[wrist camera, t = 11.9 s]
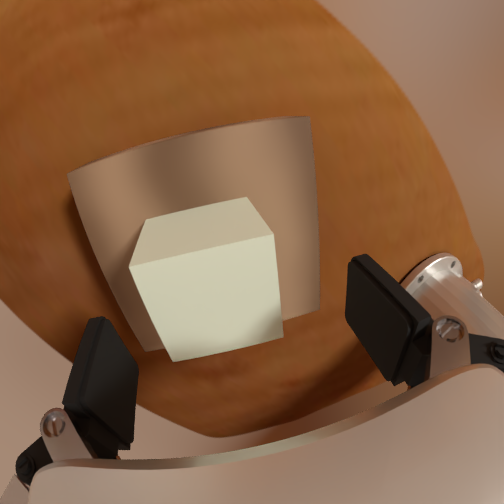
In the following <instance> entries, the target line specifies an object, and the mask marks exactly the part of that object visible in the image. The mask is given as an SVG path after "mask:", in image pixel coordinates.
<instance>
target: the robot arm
mask: <svg viewBox="0 0 504 504" xmlns="http://www.w3.org/2000/svg"><path fill="white" fill-rule="evenodd" d="M481 288H482V281H481V280H480V279H476V280H474V281H472V282H471V283H470V282H469V281H468V280H466V279H465V278H464V277H463V276H462V266H461V263H460V261H459V260H458V259H457V258H456V257H454V256H453V255H451V254H449V253H439V254H436V255H434V256H431V257H430V258H428V259H426V260H425V261H423V262H422V263H421V264H420V265H418V266H417V267H416V268H415V269H414V270H413V271H412V272H411V273H410V274H409V275H408V276H407V277H406V278H405V280H404V281H403V282H402V283H401V284H399V283H398V282H397V281H396V280H395V279H394V278H393V277H392V276H391V275H389V274H388V273H387V272H386V271H385V270H384V269H383V268H382V267H381V266H380V265H379V264H378V263H376V262H375V261H374V260H373V259H372V258H371V257H370V256H369V255H367V254H363V255H359V256H355V257H353V258H352V259H351V262H349V263H348V275H347V293H346V307H345V318H346V321H347V323H348V324H349V326H350V327H351V328H352V330H353V331H354V333H355V334H356V336H357V337H358V339H359V340H360V342H361V343H362V345H363V346H364V348H365V349H366V351H367V352H368V354H369V355H370V357H371V358H372V360H373V361H374V363H375V364H376V366H377V367H378V369H379V370H380V372H381V373H382V375H383V376H384V378H385V379H386V380H387V381H391V382H392V384H393V385H394V386H396V385H397V384H400V383H402V382H403V381H405V382H406V384H407V385H408V389H407V391H406V392H404V393H402V394H400V395H398V396H396V397H394V398H392V399H390V400H388V401H386V402H384V403H382V404H379V405H377V406H375V407H373V408H371V409H368V410H366V411H364V412H362V413H359V414H357V415H354V416H352V417H350V418H347V419H344V420H342V421H339V422H337V423H334V424H331V425H328V426H326V427H323V428H320V429H317V430H314V431H311V432H308V433H305V434H301V435H298V436H295V437H291V438H288V439H284V440H280V441H277V442H273V443H269V444H264V445H260V446H256V447H251V448H247V449H241V450H236V451H230V452H224V453H218V454H211V455H203V456H195V457H184V458H173V459H172V458H171V459H147V460H121V459H120V457H119V456H118V450H130V443H132V442H133V440H134V422H135V406H136V395H137V384H138V375H139V369H138V365H137V363H136V362H135V360H134V359H133V357H132V356H131V354H130V353H129V351H128V350H127V348H126V346H125V345H124V343H123V342H122V340H121V339H120V337H119V335H118V334H117V332H116V330H115V329H114V327H113V325H112V323H111V322H110V320H108V319H105V317H103V316H101V317H96V318H91V319H89V321H88V323H87V326H86V329H85V331H84V334H83V337H82V340H81V342H80V345H79V348H78V351H77V354H76V357H75V360H74V363H73V366H72V369H71V373H70V376H69V380H68V383H67V386H66V390H65V394H64V398H63V401H62V404H63V405H64V409H61V408H53V409H51V410H49V411H48V412H46V413H45V414H44V417H43V418H42V420H41V423H40V432H41V435H42V436H41V437H40V438H39V439H37V440H36V441H35V442H34V443H33V444H32V445H31V446H30V447H28V448H27V449H26V450H25V451H24V452H23V453H21V454H20V456H19V457H18V459H17V461H16V473H17V476H16V475H15V474H14V476H13V477H12V479H11V481H10V482H9V484H8V486H7V488H6V489H5V491H4V493H3V495H2V497H1V499H0V504H504V317H503V315H502V314H501V313H499V312H498V311H497V310H496V309H495V308H494V307H493V306H492V305H491V304H489V302H487V301H486V300H485V299H484V298H483V297H482V293H481V292H480V291H479V289H481Z"/></svg>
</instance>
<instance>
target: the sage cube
mask: <svg viewBox="0 0 504 504" xmlns="http://www.w3.org/2000/svg"><path fill="white" fill-rule="evenodd" d="M129 269H130V272H131V274H132V277H133V279H134V281H135V284H136V286H137V289H138V291H139V293H140V296H141V298H142V300H143V302H144V305H145V307H146V309H147V311H148V313H149V315H150V318H151V320H152V322H153V324H154V326H155V328H156V330H157V332H158V334H159V336H160V338H161V340H162V342H163V344H164V346H165V348H166V350H167V352H168V354H169V356H170V357H171V359H172V361H173V362H176V361H181V360H187V359H192V358H197V357H202V356H207V355H212V354H217V353H221V352H226V351H230V350H235V349H239V348H243V347H247V346H251V345H255V344H259V343H263V342H267V341H271V340H274V339H278V338H282V337H283V325H282V314H281V303H280V292H279V281H278V271H277V261H276V251H275V241H274V234H273V232H272V231H271V230H270V228H269V227H268V225H267V224H266V223H265V221H264V220H263V218H262V217H261V216H260V214H259V213H258V212H257V210H256V209H255V207H254V206H253V205H252V203H251V202H250V201H249V199H248V198H247V197H243V198H238V199H233V200H229V201H224V202H219V203H214V204H210V205H205V206H201V207H196V208H192V209H187V210H183V211H179V212H175V213H170V214H166V215H162V216H158V217H154V218H150V219H146V220H145V223H144V226H143V228H142V231H141V233H140V236H139V239H138V242H137V244H136V247H135V250H134V253H133V256H132V259H131V262H130V264H129Z"/></svg>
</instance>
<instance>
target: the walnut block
mask: <svg viewBox="0 0 504 504" xmlns="http://www.w3.org/2000/svg"><path fill="white" fill-rule="evenodd" d="M67 177H68V180H69V184H70V187H71V190H72V194H73V197H74V200H75V203H76V206H77V209H78V212H79V215H80V217H81V220H82V223H83V226H84V228H85V231H86V234H87V236H88V239H89V241H90V244H91V246H92V249H93V251H94V253H95V256H96V258H97V260H98V263H99V265H100V267H101V270H102V272H103V274H104V276H105V278H106V280H107V283H108V285H109V287H110V289H111V291H112V293H113V295H114V297H115V299H116V301H117V303H118V305H119V307H120V309H121V310H122V312H123V314H124V316H125V318H126V320H127V322H128V323H129V325H130V327H131V329H132V331H133V332H134V334H135V336H136V338H137V339H138V341H139V343H140V344H141V346H142V348H143V349H144V351H145V352H147V351H153V350H158V349H164V348H165V346H164V344H163V342H162V340H161V338H160V336H159V334H158V332H157V330H156V328H155V326H154V324H153V322H152V320H151V318H150V315H149V313H148V311H147V309H146V307H145V305H144V302H143V300H142V298H141V296H140V293H139V291H138V289H137V286H136V284H135V281H134V279H133V277H132V274H131V272H130V269H129V264H130V262H131V259H132V256H133V253H134V250H135V247H136V244H137V242H138V239H139V236H140V233H141V231H142V228H143V226H144V223H145V220H146V219H150V218H154V217H158V216H162V215H166V214H170V213H175V212H179V211H183V210H187V209H192V208H196V207H201V206H205V205H210V204H214V203H219V202H224V201H229V200H233V199H238V198H243V197H247V198H248V199H249V201H250V202H251V203H252V205H253V206H254V207H255V209H256V210H257V212H258V213H259V214H260V216H261V217H262V218H263V220H264V221H265V223H266V224H267V225H268V227H269V228H270V230H271V231H272V232H273V234H274V241H275V251H276V261H277V271H278V281H279V292H280V303H281V314H282V321H283V320H286V319H290V318H293V317H297V316H300V315H303V314H307V313H310V312H313V311H316V310H319V309H320V254H319V225H318V205H317V189H316V176H315V163H314V152H313V142H312V133H311V124H310V116H283V117H274V118H266V119H258V120H251V121H245V122H239V123H233V124H227V125H221V126H216V127H211V128H206V129H201V130H197V131H192V132H188V133H184V134H179V135H175V136H171V137H167V138H164V139H160V140H156V141H153V142H149V143H146V144H142V145H139V146H136V147H132V148H129V149H126V150H123V151H120V152H117V153H114V154H111V155H108V156H105V157H102V158H100V159H97V160H94V161H92V162H89V163H87V164H85V165H83V166H81V167H79V168H77V169H75V170H73V171H71V172H69V173H67Z"/></svg>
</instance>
